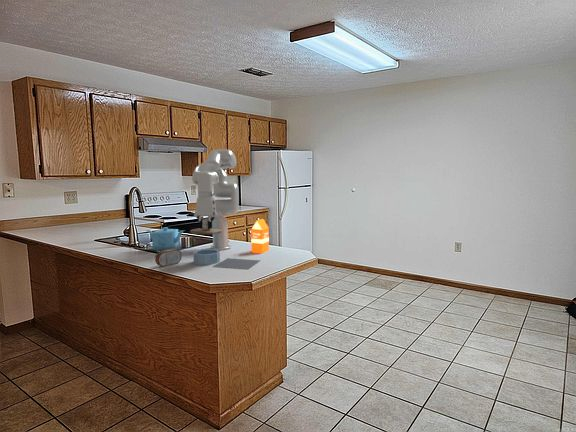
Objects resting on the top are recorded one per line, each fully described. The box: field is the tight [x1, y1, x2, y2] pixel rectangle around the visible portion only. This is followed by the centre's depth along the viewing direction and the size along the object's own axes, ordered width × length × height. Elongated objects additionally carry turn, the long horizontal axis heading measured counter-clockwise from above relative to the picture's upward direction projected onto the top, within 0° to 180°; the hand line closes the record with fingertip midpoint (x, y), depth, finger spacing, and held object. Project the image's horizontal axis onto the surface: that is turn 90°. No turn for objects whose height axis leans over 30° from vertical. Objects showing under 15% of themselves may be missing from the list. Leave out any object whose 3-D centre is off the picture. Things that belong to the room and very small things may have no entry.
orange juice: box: [250, 218, 270, 254], centre depth 241 cm, size 8×9×20 cm
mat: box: [212, 257, 261, 270], centre depth 209 cm, size 20×20×1 cm
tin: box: [154, 248, 183, 267], centre depth 208 cm, size 15×3×8 cm, turn 141°
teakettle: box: [145, 226, 186, 253], centre depth 244 cm, size 19×19×15 cm
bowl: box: [192, 248, 221, 266], centre depth 214 cm, size 14×14×6 cm
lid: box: [189, 218, 222, 235], centre depth 211 cm, size 17×17×7 cm
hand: (206, 228), depth 212 cm, fingers closed on lid, 4 cm apart
